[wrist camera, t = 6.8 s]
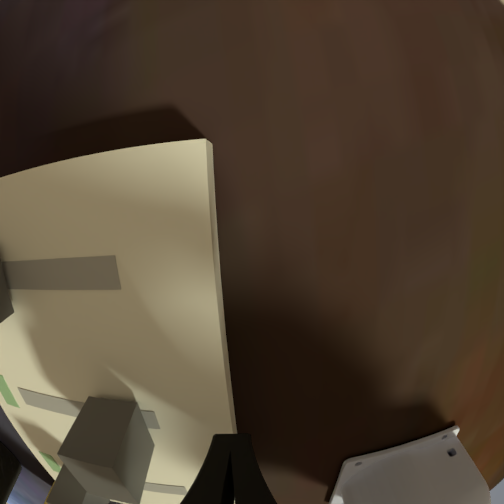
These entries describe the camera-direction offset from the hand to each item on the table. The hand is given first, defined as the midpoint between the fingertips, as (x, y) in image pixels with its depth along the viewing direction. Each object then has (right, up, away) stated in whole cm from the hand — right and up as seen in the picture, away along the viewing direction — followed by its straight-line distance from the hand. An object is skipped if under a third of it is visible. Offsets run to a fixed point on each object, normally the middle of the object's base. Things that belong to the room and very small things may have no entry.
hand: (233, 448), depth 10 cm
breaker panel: (-8, +1, +3) cm, 8 cm away
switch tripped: (-5, 0, +1) cm, 5 cm away
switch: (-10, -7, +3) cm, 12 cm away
